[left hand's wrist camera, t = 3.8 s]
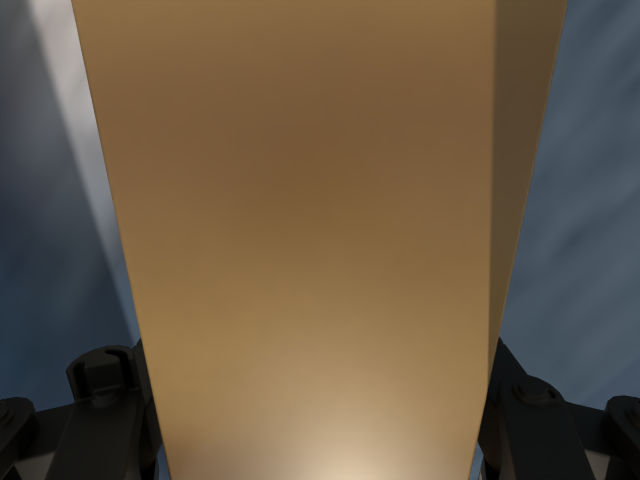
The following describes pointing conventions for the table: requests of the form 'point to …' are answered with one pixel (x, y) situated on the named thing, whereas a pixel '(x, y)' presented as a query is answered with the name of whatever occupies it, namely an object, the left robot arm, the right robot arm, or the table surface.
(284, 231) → the beam
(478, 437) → the left robot arm
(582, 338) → the table surface
